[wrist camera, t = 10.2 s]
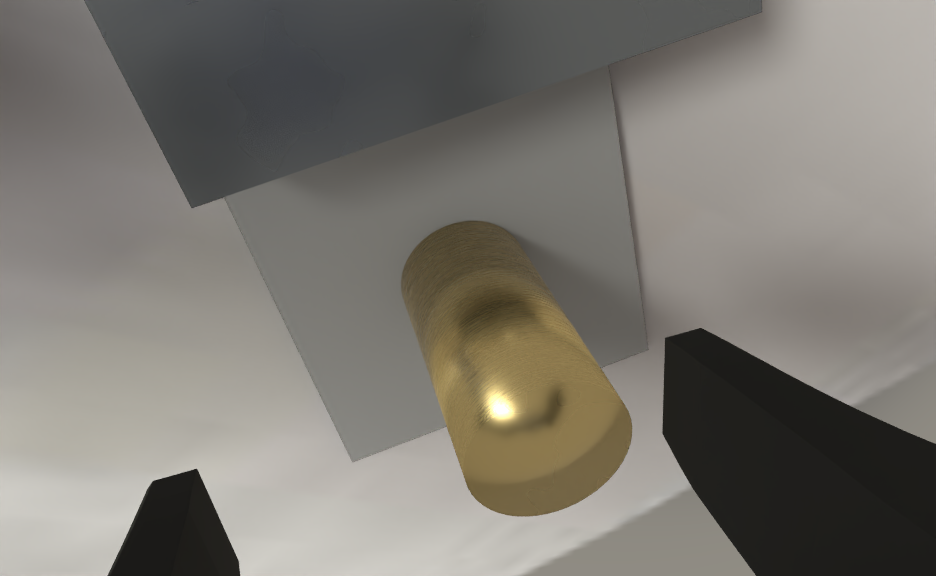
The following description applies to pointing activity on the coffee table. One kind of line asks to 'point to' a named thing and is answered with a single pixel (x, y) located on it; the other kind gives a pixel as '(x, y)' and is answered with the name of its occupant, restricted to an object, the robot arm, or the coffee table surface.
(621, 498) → the coffee table surface
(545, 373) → the gold metal cylinder
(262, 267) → the rubber mat
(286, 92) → the chuck block
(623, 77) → the coffee table surface
